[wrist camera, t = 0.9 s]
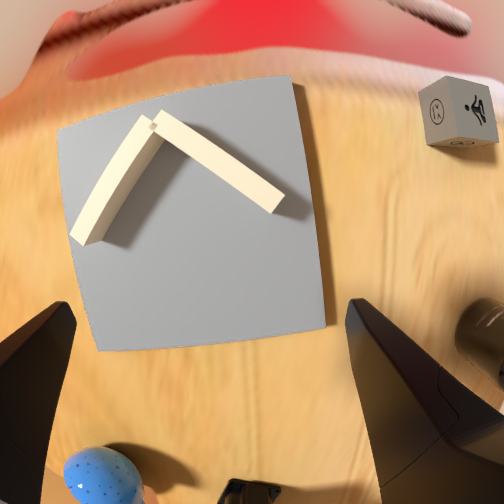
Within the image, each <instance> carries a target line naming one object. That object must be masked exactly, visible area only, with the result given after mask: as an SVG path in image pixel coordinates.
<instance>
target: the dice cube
mask: <svg viewBox="0 0 504 504" xmlns="http://www.w3.org/2000/svg"><path fill="white" fill-rule="evenodd" d="M418 94H419V99H420V105H421V110H422V116H423V122H424V129H425V136H426V144H427V145H435V146H448V147H458V148H471V147H476V146H482V145H487V144H493V143H499V138H498V132H497V126H496V120H495V115H494V109H493V105H492V100H491V95H490V91H489V87H488V86H485V85H482V84H478V83H474V82H471V81H467V80H463V79H458V78H454V77H450V76H445V77H443V78H441V79H440V80H438V81H436V82H435V83H433V84H431V85H430V86H428V87H426V88H425V89H423V90H421V91H420V92H418Z"/></svg>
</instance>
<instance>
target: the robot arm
mask: <svg viewBox="0 0 504 504" xmlns="http://www.w3.org/2000/svg"><path fill="white" fill-rule="evenodd" d="M76 326H77V321H76V318H75V316H74V314H73V312H72V310H71V308H70V306H69V304H68V303H67V302H65V301H57V302H55V303H53V304H52V305H50V306H49V307H48V308H46V309H45V310H43V311H42V312H41V313H39V314H38V315H37V316H35V317H34V318H32V319H31V320H30V321H28V322H27V323H26V324H24V325H23V326H22V327H20V328H19V329H18V330H16V331H15V332H14V333H12V334H11V335H10V336H8V337H7V338H6V339H5V340H3V341H2V342H1V343H0V504H40V501H41V492H42V484H43V476H44V469H45V468H44V467H45V462H46V456H47V451H48V445H49V440H50V435H51V430H52V426H53V421H54V417H55V412H56V408H57V404H58V400H59V396H60V392H61V389H62V385H63V381H64V378H65V374H66V371H67V367H68V363H69V359H70V354H71V349H72V344H73V340H74V335H75V331H76ZM345 327H346V333H347V339H348V346H349V352H350V359H351V366H352V371H353V375H354V379H355V383H356V387H357V390H358V394H359V398H360V402H361V406H362V410H363V414H364V418H365V423H366V427H367V431H368V435H369V440H370V444H371V449H372V453H373V458H374V463H375V467H376V472H377V477H378V482H379V487H380V488H381V489H380V493H381V499H382V504H504V415H502V414H501V413H500V412H498V411H497V410H496V409H494V408H493V407H492V406H490V405H489V404H488V403H486V402H485V401H484V400H482V399H481V398H480V397H478V396H477V395H476V394H474V393H473V392H472V391H471V390H469V389H468V388H467V387H465V386H464V385H463V384H462V383H460V382H459V381H458V380H457V379H456V378H455V377H454V376H452V375H451V374H450V373H449V372H448V371H447V370H446V369H444V368H443V367H442V366H440V364H439V363H438V362H437V361H435V360H434V359H433V358H432V357H431V356H430V355H429V354H428V353H427V352H425V351H424V350H423V349H422V348H421V347H420V346H419V345H417V344H416V343H415V342H414V341H413V340H412V339H411V338H410V337H408V336H407V335H406V334H405V333H404V332H403V331H401V330H400V329H399V328H398V327H397V326H396V325H395V324H393V323H392V322H391V321H390V320H389V319H388V318H386V317H385V316H384V315H383V314H382V313H381V312H379V311H378V310H377V309H376V308H375V307H374V306H372V305H371V304H370V303H369V302H368V301H366V300H365V299H364V298H355V299H351V300H350V301H349V305H348V309H347V314H346V319H345ZM280 492H281V488H280V487H276V486H269V485H262V484H256V483H250V482H245V481H240V480H234V479H231V480H229V481H228V483H227V485H226V487H225V489H224V491H223V492H222V494H221V496H220V498H219V500H218V502H217V504H272V503H273V502H274V500H275V499H276V498H277V496H278V495H279V494H280Z"/></svg>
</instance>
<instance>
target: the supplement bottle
mask: <svg viewBox="0 0 504 504" xmlns="http://www.w3.org/2000/svg"><path fill="white" fill-rule="evenodd" d="M455 344H456V348H457V350H458V352H459V353H460V354H461V355H462V356H463V357H464V358H465V359H466V360H468V361H469V362H470V363H471V364H472V365H473V366H474V367H476V368H477V369H478V370H479V371H480V372H481V373H482V374H483V375H484V376H486V377H487V378H488V379H489V380H490V381H491V382H492V383H493V384H494V385H495V386H496V387H498V388H499V389H500V390H501V391H503V392H504V304H502V303H500V302H498V301H496V300H494V299H491V298H481V299H479V300H477V301H475V302H474V303H472V304H471V305H470V306H469V307H468V308H467V309H466V310H465V312H464V313H463V315H462V316H461V318H460V320H459V322H458V325H457V328H456V333H455Z"/></svg>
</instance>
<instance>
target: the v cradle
mask: <svg viewBox="0 0 504 504" xmlns="http://www.w3.org/2000/svg"><path fill="white" fill-rule="evenodd" d="M57 143H58V159H59V171H60V181H61V190H62V198H63V205H64V212H65V219H66V225H67V231H68V237H69V242H70V247H71V252H72V257H73V262H74V267H75V271H76V275H77V280H78V284H79V288H80V292H81V296H82V299H83V303H84V307H85V310H86V314H87V317H88V321H89V324H90V327H91V330H92V334H93V337H94V340H95V343H96V346H97V349H98V351H127V350H146V349H161V348H175V347H187V346H198V345H208V344H217V343H226V342H235V341H243V340H251V339H258V338H266V337H273V336H279V335H286V334H292V333H298V332H305V331H310V330H316V329H322V328H326V322H325V310H324V298H323V288H322V277H321V268H320V259H319V250H318V241H317V233H316V225H315V217H314V210H313V203H312V196H311V189H310V182H309V175H308V169H307V163H306V156H305V150H304V145H303V139H302V133H301V127H300V122H299V117H298V111H297V106H296V101H295V96H294V91H293V86H292V81H291V76H290V75H281V76H271V77H262V78H254V79H247V80H240V81H233V82H227V83H221V84H215V85H210V86H204V87H199V88H194V89H190V90H185V91H181V92H176V93H172V94H168V95H164V96H160V97H156V98H152V99H148V100H145V101H141V102H137V103H134V104H131V105H127V106H124V107H121V108H117V109H114V110H111V111H108V112H105V113H102V114H99V115H96V116H93V117H91V118H88V119H85V120H82V121H80V122H77V123H74V124H72V125H69V126H67V127H64V128H62V129H59V130H57Z"/></svg>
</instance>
